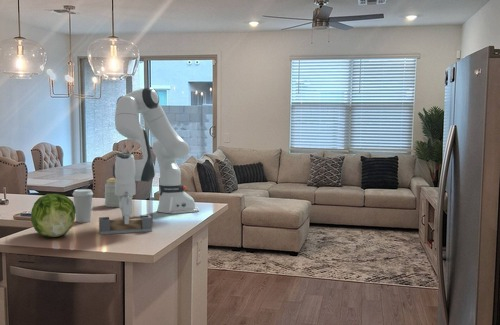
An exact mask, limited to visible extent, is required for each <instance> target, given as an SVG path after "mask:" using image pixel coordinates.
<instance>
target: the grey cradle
mask: <svg viewBox="0 0 500 325" xmlns="http://www.w3.org/2000/svg"><path fill="white" fill-rule="evenodd" d="M139 216H140V217H139V218H142V229H126V230H110V220H111V219H110V217H109V216H102V217H99V218H98V227H99V228H98V230H99V232H98V233H99V234H100V235H109V234H110V235H111V234H124V233H125V234H126V233H127V234H128V233H142V232H144V233H146V232H152V231H153V226H152V224H153V222H152V220H153V219H152V216H151V215H150V214H141V215H139Z"/></svg>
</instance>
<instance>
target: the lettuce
mask: <svg viewBox="0 0 500 325" xmlns="http://www.w3.org/2000/svg"><path fill="white" fill-rule="evenodd" d="M75 221H76V214H75V205H74V200H73V199H71V198H69V197H68V196H67V195H65V194H59V193H46V194H45V195H42V196H40V197H38V199H37V200H36V201H35V202H34V203H33V206H32V208H31V214H30V222H31V223H32V226H33V228H34V230H35V231H36V232H37V233H38V234H40V235H41V236H43V237H48V238H57V237H58V238H59V237H61V236H63V235H66V234H67V233H68V232H69V231H70V230H71V229H72V226H73V224H74V222H75Z"/></svg>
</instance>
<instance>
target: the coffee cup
mask: <svg viewBox="0 0 500 325" xmlns="http://www.w3.org/2000/svg"><path fill="white" fill-rule="evenodd" d="M93 195H94V192H93V191H92V189H89V188H86V189H85V188H81V189H80V188H79V189H75V190H73V192H72V196H73V203H74V206H75V222H76V223H78V224H79V223H83V224H84V223H85V224H86V223H89V222H91V220H92V219H91V218H92V204H93V203H92V202H93Z"/></svg>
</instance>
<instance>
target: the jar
mask: <svg viewBox="0 0 500 325" xmlns="http://www.w3.org/2000/svg"><path fill="white" fill-rule="evenodd" d="M115 181H116V178H114V177H111V178H108V179H107V180H106V181H105V182H106V183H105V184H104V188H105V190H104V206H105V207H108V208H120V207H119V202H118V196H117V195H115Z"/></svg>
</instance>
